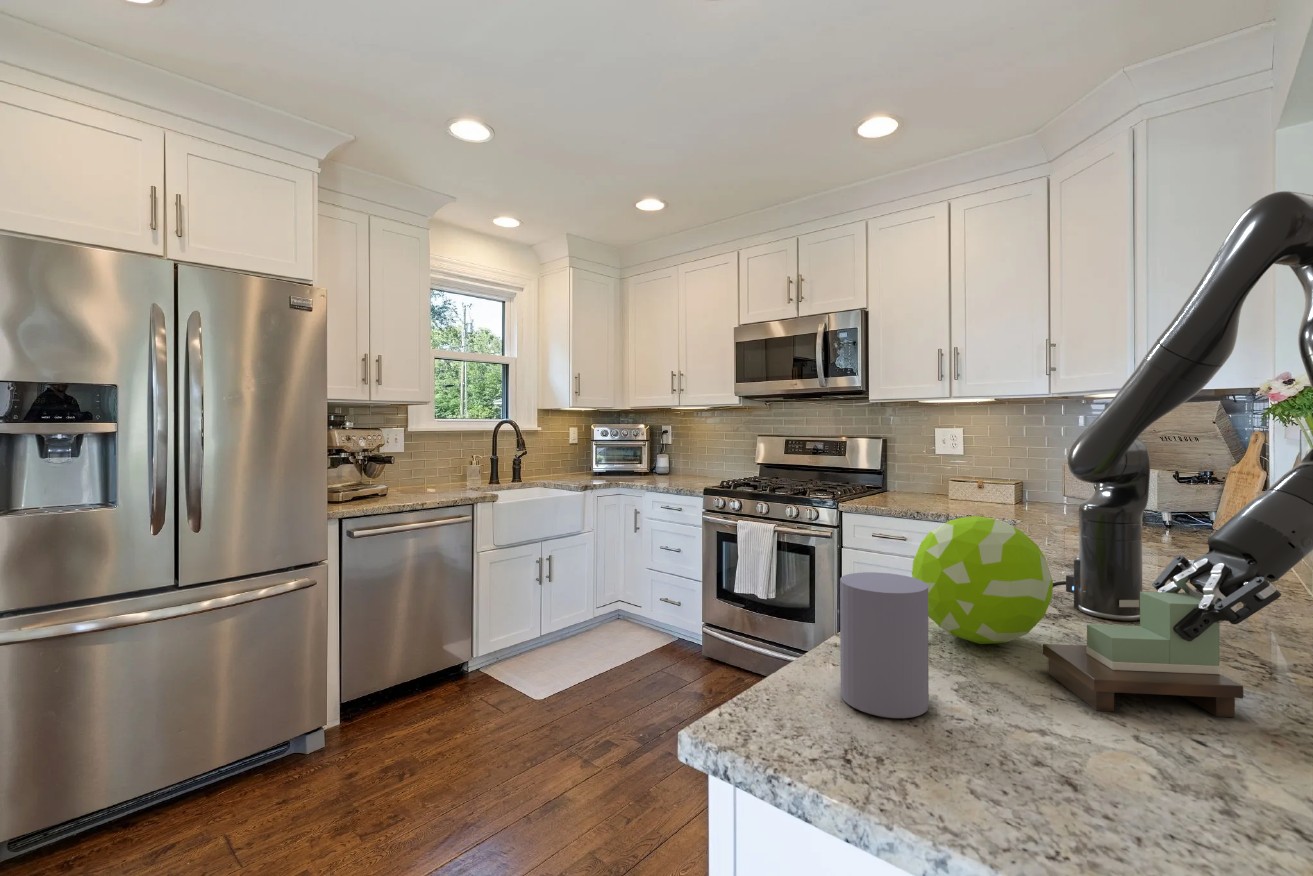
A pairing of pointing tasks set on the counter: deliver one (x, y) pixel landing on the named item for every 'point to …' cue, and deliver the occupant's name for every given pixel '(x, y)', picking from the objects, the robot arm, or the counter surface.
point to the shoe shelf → (1136, 682)
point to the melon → (983, 579)
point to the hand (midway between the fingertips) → (1163, 627)
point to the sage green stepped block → (1157, 639)
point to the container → (884, 644)
